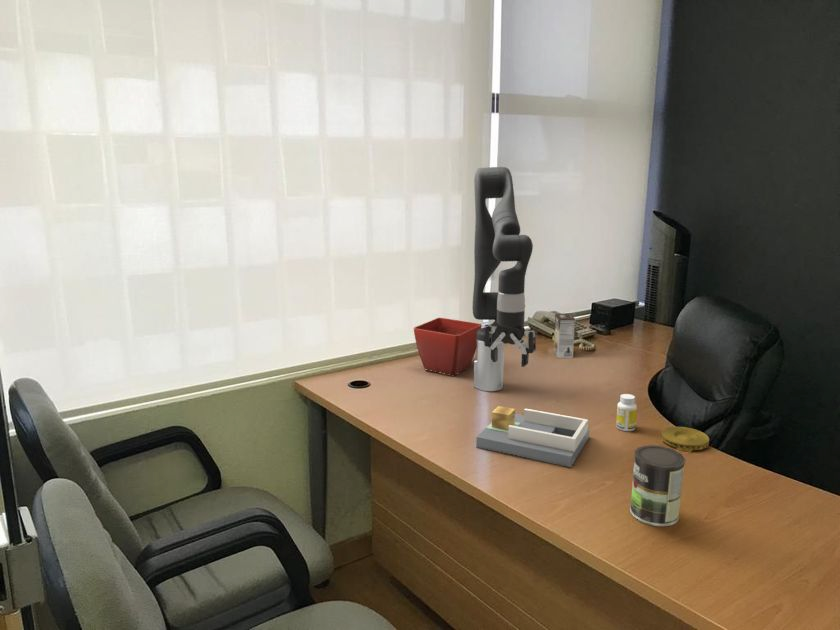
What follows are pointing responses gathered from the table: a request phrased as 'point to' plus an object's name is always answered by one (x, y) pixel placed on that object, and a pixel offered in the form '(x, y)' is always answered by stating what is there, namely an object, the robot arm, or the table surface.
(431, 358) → the plant pot
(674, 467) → the coffee can
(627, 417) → the supplement bottle
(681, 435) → the gold flat disc
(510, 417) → the mustard block
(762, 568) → the table surface
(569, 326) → the coffee box
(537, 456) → the walled pit deck
